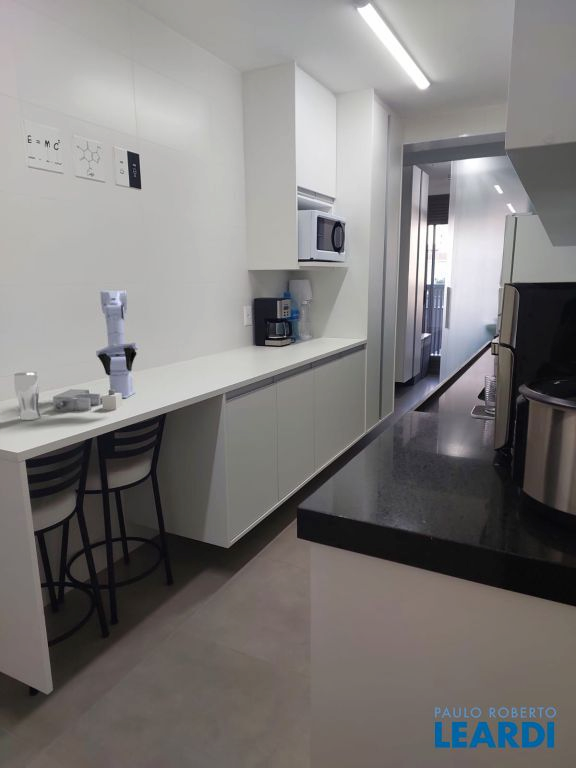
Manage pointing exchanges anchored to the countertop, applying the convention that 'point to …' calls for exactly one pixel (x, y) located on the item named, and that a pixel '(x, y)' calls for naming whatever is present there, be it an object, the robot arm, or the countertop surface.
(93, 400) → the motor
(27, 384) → the beer glass
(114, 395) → the white block
